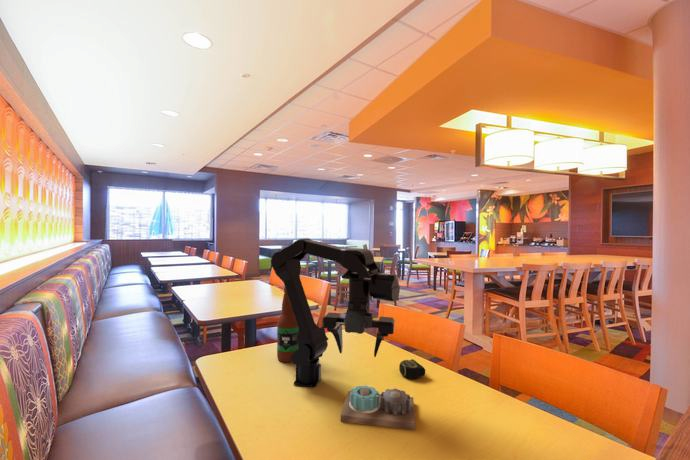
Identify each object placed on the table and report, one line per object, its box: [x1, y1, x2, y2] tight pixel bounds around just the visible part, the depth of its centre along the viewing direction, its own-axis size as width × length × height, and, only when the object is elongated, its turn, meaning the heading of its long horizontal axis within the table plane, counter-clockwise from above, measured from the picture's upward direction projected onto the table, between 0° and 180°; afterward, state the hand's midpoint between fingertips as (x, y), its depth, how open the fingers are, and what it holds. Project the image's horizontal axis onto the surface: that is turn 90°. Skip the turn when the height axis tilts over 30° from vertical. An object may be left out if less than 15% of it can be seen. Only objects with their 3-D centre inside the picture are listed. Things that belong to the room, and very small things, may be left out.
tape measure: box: [398, 358, 426, 379], centre depth 98 cm, size 7×7×4 cm
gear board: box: [340, 388, 416, 431], centre depth 79 cm, size 17×11×5 cm, turn 80°
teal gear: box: [350, 384, 380, 411], centre depth 79 cm, size 7×7×3 cm
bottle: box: [276, 285, 299, 363], centre depth 109 cm, size 7×7×25 cm
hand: (357, 354), depth 86 cm, fingers open, 9 cm apart
